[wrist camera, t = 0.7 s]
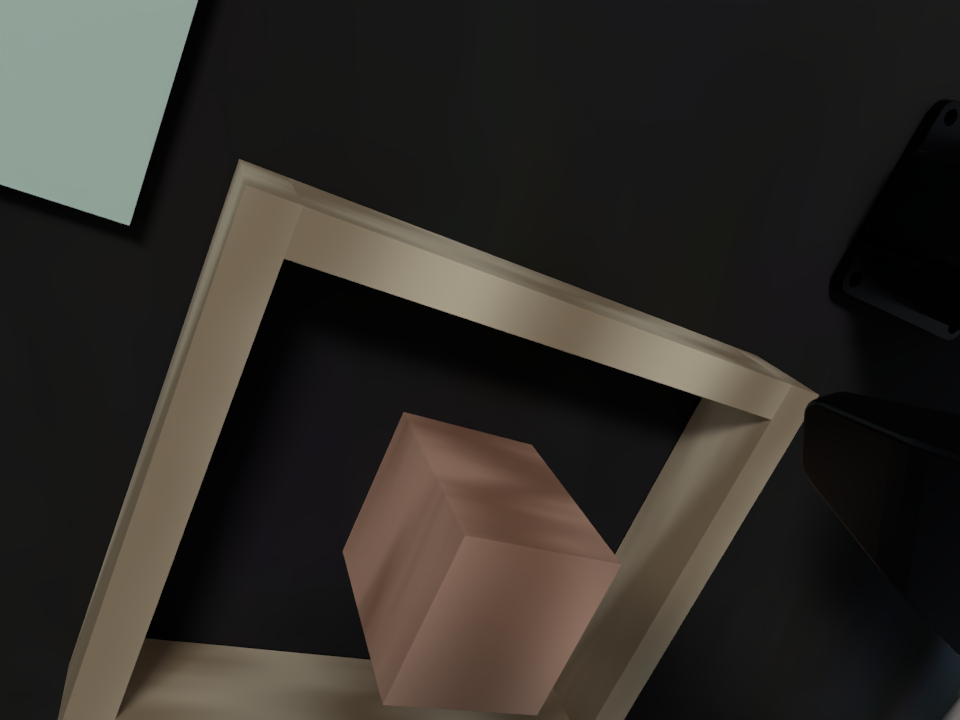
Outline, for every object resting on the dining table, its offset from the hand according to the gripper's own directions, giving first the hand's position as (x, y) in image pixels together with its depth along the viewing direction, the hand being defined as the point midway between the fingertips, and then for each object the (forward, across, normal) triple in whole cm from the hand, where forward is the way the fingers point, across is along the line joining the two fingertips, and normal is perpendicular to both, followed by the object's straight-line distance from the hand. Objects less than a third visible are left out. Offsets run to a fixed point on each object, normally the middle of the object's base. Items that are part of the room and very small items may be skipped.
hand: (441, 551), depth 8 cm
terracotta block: (+13, -2, +9) cm, 16 cm away
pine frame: (+13, -2, +9) cm, 16 cm away
